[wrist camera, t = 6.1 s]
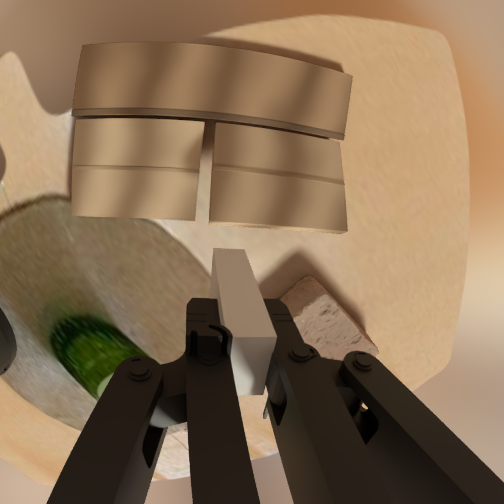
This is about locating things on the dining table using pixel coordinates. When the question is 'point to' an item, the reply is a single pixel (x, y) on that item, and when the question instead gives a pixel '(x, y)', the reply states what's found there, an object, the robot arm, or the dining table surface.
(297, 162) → the plank
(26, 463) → the dining table surface
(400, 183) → the dining table surface
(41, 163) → the dining table surface
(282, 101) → the floorboard
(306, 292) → the brick
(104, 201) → the plank
